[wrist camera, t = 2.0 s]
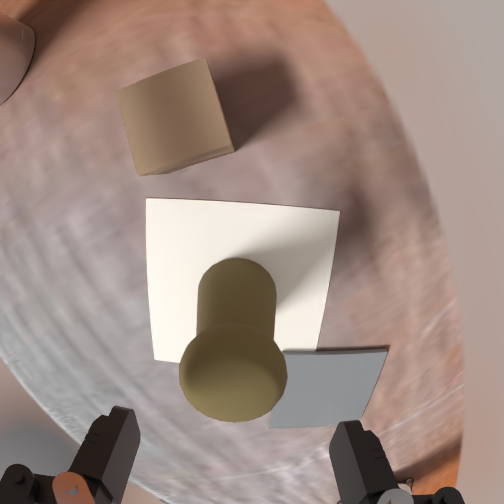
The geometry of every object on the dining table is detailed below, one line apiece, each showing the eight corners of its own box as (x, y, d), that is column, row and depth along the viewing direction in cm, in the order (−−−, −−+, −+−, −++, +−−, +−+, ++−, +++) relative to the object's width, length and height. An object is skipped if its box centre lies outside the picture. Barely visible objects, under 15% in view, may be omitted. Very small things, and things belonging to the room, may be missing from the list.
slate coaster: (268, 424, 26) (269, 428, 26) (281, 350, 24) (282, 354, 23) (357, 418, 27) (358, 422, 26) (385, 348, 24) (387, 351, 23)
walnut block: (167, 173, 19) (138, 176, 14) (149, 110, 18) (116, 91, 12) (235, 152, 19) (231, 144, 13) (216, 87, 18) (205, 57, 12)
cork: (262, 246, 21) (280, 325, 10) (286, 316, 23) (313, 421, 12) (185, 272, 21) (138, 362, 11) (214, 337, 23) (199, 445, 12)
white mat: (155, 357, 24) (154, 359, 24) (148, 197, 20) (146, 198, 20) (310, 366, 25) (311, 369, 24) (338, 210, 21) (339, 211, 20)
